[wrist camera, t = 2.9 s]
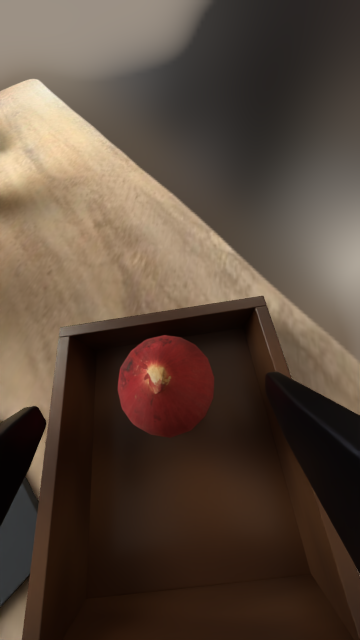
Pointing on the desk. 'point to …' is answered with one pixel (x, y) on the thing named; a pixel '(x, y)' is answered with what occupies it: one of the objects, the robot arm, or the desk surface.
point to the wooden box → (181, 501)
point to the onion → (166, 386)
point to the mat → (17, 541)
